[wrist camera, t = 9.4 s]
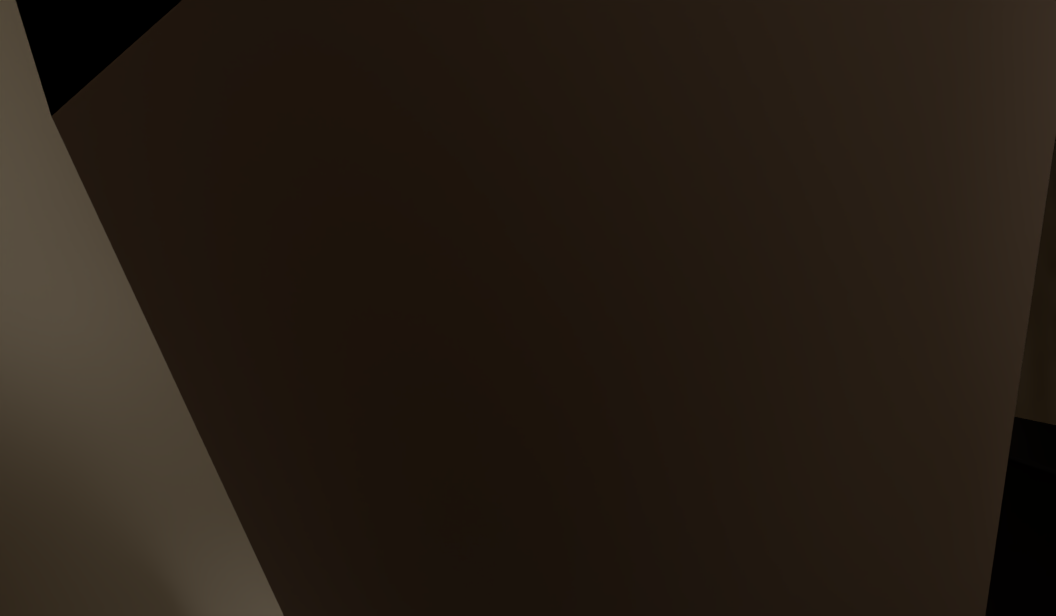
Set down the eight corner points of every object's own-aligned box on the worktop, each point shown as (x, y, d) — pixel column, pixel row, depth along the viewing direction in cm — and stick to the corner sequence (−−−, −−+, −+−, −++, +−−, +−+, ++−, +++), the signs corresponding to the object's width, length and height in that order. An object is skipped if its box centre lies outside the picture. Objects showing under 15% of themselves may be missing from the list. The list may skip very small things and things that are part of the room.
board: (816, -157, 12) (1051, -239, 8) (817, 521, 18) (949, 642, 14) (-437, 58, 8) (-1024, 80, 4) (123, 817, 14) (70, 1076, 11)
